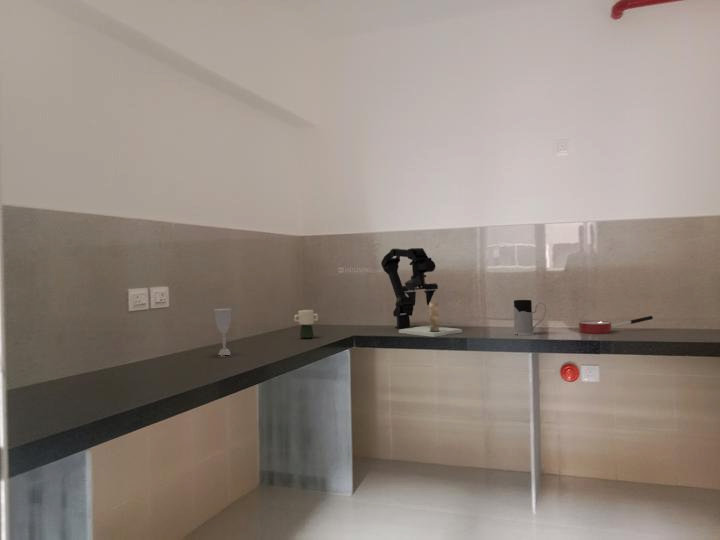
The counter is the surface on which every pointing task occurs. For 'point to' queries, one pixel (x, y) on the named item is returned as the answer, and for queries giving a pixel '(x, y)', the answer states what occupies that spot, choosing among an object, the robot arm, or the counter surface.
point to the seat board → (426, 331)
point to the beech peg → (434, 317)
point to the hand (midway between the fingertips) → (420, 305)
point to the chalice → (223, 326)
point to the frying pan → (604, 325)
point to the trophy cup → (306, 322)
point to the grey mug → (524, 317)
